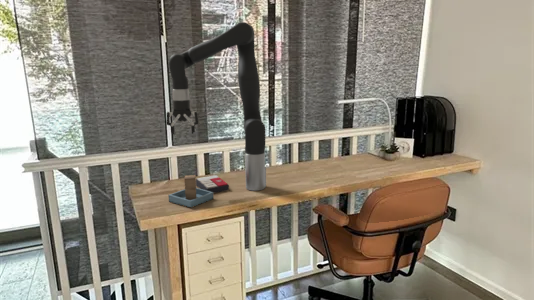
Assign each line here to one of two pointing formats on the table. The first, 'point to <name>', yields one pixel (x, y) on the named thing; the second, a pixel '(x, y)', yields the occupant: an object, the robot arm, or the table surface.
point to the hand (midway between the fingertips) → (183, 133)
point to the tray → (181, 199)
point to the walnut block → (190, 187)
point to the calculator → (212, 184)
